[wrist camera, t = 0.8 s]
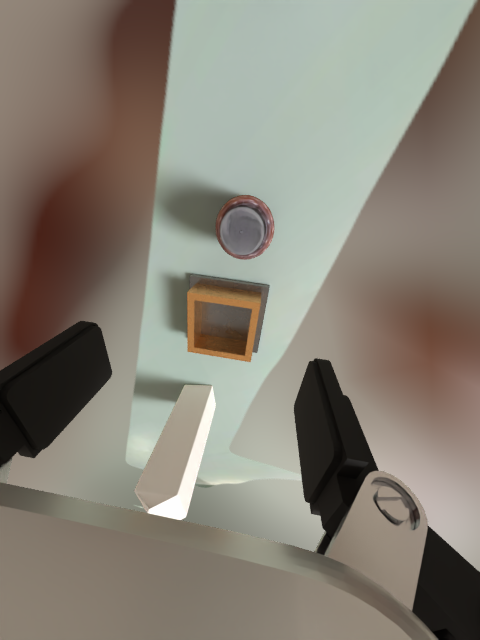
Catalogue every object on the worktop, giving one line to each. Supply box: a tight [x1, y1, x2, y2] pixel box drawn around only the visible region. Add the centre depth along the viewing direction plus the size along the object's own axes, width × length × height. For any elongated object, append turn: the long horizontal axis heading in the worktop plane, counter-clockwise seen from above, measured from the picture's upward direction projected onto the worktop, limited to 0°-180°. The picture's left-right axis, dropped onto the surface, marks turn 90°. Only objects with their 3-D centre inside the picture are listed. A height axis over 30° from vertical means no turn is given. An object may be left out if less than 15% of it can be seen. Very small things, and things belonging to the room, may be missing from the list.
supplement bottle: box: [216, 195, 274, 260], centre depth 23 cm, size 6×6×11 cm
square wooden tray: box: [187, 274, 269, 362], centre depth 33 cm, size 12×12×5 cm
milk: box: [134, 384, 216, 520], centre depth 35 cm, size 6×6×22 cm
